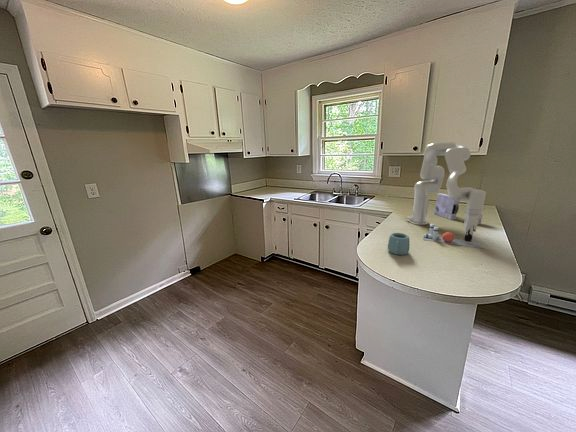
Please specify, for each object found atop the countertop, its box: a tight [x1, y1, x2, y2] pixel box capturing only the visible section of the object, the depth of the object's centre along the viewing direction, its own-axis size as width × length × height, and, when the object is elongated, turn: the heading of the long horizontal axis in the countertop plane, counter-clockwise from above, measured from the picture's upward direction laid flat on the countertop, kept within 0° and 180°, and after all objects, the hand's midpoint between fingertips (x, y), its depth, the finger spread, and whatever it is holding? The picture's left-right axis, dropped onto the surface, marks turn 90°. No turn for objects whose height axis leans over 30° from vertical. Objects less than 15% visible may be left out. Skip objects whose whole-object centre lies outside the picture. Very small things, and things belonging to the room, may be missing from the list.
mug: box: [387, 232, 410, 256], centre depth 132 cm, size 15×11×10 cm
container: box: [463, 213, 484, 226], centre depth 177 cm, size 8×8×13 cm
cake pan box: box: [433, 192, 460, 221], centre depth 194 cm, size 19×5×18 cm, turn 9°
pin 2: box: [432, 226, 439, 242], centre depth 148 cm, size 2×2×8 cm
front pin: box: [423, 233, 441, 239], centre depth 152 cm, size 2×2×8 cm
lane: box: [422, 236, 484, 249], centre depth 148 cm, size 30×10×1 cm, turn 60°
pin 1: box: [428, 223, 436, 235], centre depth 154 cm, size 2×2×8 cm
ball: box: [441, 231, 455, 242], centre depth 146 cm, size 6×6×6 cm
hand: (467, 241), depth 143 cm, fingers closed
